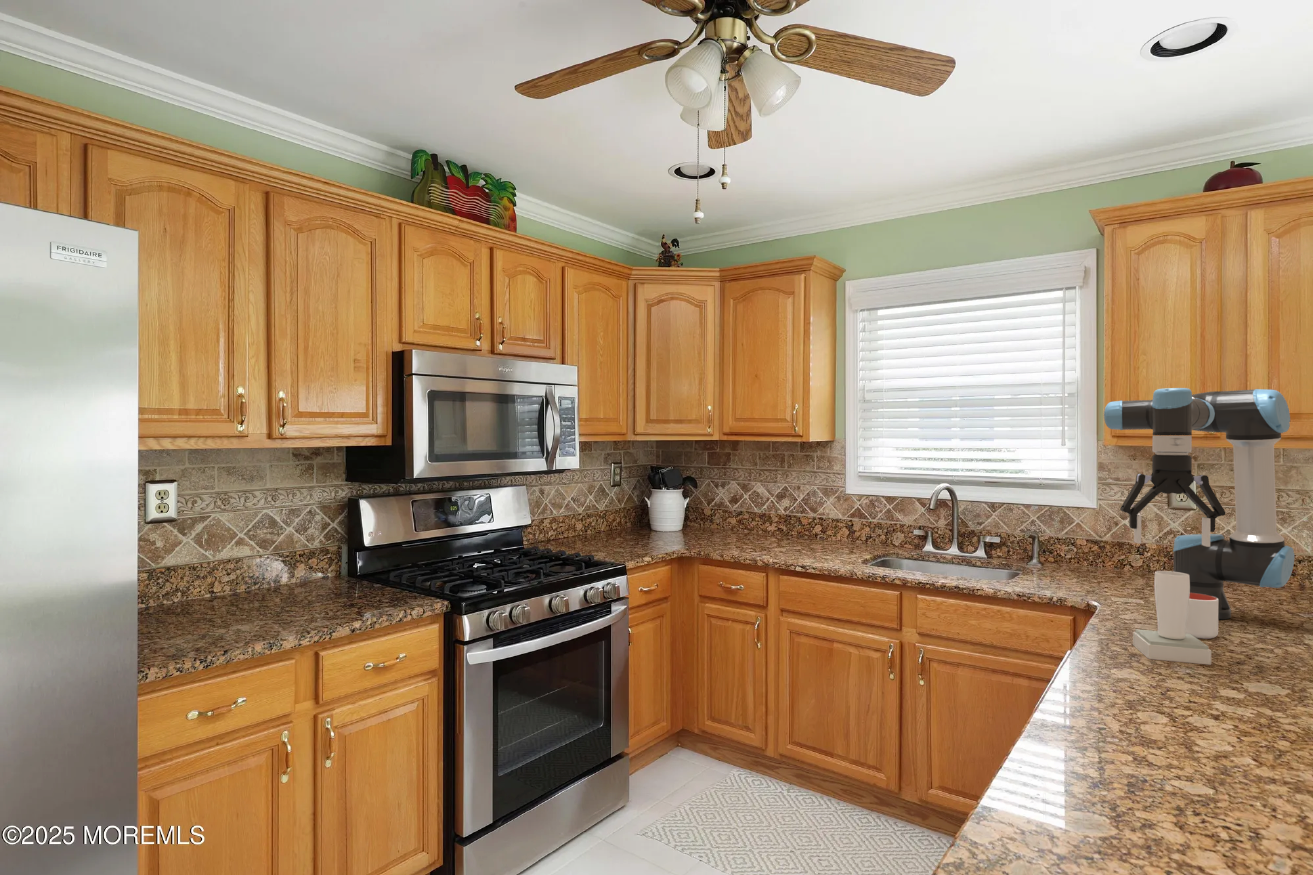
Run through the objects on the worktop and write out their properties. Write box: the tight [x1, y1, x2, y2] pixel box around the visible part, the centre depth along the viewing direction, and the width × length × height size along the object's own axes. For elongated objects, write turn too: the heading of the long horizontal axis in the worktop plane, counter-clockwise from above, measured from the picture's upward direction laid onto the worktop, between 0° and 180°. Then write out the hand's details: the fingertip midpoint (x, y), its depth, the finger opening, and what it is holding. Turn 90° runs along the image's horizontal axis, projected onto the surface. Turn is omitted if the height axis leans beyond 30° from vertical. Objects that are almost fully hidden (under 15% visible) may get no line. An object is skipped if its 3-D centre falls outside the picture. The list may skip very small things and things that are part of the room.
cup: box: [1186, 593, 1219, 640], centre depth 185 cm, size 10×10×10 cm
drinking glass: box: [1153, 570, 1190, 640], centre depth 167 cm, size 7×7×15 cm
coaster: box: [1132, 628, 1212, 666], centre depth 167 cm, size 12×12×4 cm
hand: (1171, 544), depth 168 cm, fingers open, 13 cm apart
